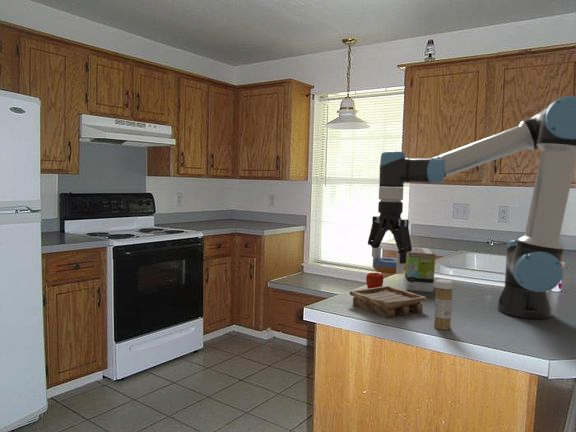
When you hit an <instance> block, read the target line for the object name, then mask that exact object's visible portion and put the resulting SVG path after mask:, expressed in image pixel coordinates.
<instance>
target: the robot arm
mask: <svg viewBox="0 0 576 432" xmlns="http://www.w3.org/2000/svg"><path fill="white" fill-rule="evenodd" d="M537 149H539V151H540V157H539V161H538V166H537V172H536V177H535V181H534V187H533V191H532V196H531V201H530V205H529V206H530V207H529V211H528V217H527V221H526V225H525V226H526V227H525V231H524V235H522V236H520V237H519V238H517V239H510V240H509V241H507V244H506V247H505V251H506V259H505V273H504V286H503V289H502V291H501V294H500V295H499V298H498V301H497V307H496V309H497V311H499V312H501V313H503V314H505V315H508V316H512V317H518V318H522V319H528V320H529V319H532V320H545V319H548V318H551V317H552V306H551V303H550V299H549V296H548V291H549V292H550V291H551V290H553V289H554V288H556V287H557V286H558V285H559V284H560V282H561V281H562V278H563V275H564V269H563V264H562V263H561V262H562V259H563V254H564V248H565V247H564V246H563V244H562V243H561V242H560V236H561V232H562V227H563V222H564V218H565V212H566V210H567V209H566V208H567V205H568V204H567V203H568V199H569V194H570V189H571V184H572V181H573V179H572V178H573V175H574V172H575V171H574V169H575V166H576V95H567V96H563V97H560V98H557V99H555V100H554V101H552V102H551V103H550V104H549V105H548V106H547V107H545V108H544V109H543V110H541V111H540V112H539V113H537V114H535V115H534V116H533V115H532V116H531V117H529V118H526V119H524V120H521V121H520V123H519V124H518V125H517V126H514V127H512V128H511V127H510V128H509V129H505V130H504V131H501V132H498V133H495V134H493V135H490V136H488V137H484V138H482V139H480V140H479V139H478V140H477V141H474V142H471V143H469V144H466V145H464V146H461V147H458V148H456V149H452V150H450V151H447V152H444V153H441V154H439V155H437V156H433V157H428V158H427V157H425V158H424V157H422V158H421V157H419V158H417V157H415V158H410V157H409V158H408V157H406V154H405V152H404V151H397V150H396V151H393V150H392V151H383V152H382V153H381V155H380V162H379V163H380V164H379V180H378V182H379V185H378V186H379V187H378V200H380V201H379V202H378V209H377V211H378V213H379V215H378V216H376V215H375V216H374V215H373V216H372V217H371V219H372V222H371V223H372V224H371V228H370V232H369V236H368V240H367V245H369V246H371V248H372V249H371V250H372V251H371V256H372V262H373V261H374V260H375V259H377V258H382V253H381V252H382V247H381V243H382V241H383V240H384V237H385V235H386V233H387V232H388V231H390V233H391V234H392V235H393V239H394V242H395V244H396V247H397V250H398V251H397V252H396V258H397V260H396V273H395V274H396V275H403V274H405V268H404V267H405V264H406V253H407V252H411V251H412V248H413V247H412V242H411V235H410V229H409V223H410V221H409V219H408V218H407V219H403V218H402V217H401V215H402V214H403V212H404V211H403V208H404V205H403V204H404V203H403V200H404V187H405V186H404V183H416V184H417V183H419V184H420V183H421V184H422V183H423V184H440V183H444V182H445V178H446V177H449V176H452V175H455V174H458V173H461V172H464V171H467V170H470V169H472V168H475V167H478V166H481V165H483V164H487V163H490V162H492V161H495V160H498V159H501V158H504V157H507V156H509V155H512V154H516V153H518V152H520V151H524V150H530V151H534V150H537Z"/></svg>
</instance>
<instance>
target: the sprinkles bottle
mask: <svg viewBox="0 0 576 432" xmlns="http://www.w3.org/2000/svg"><path fill="white" fill-rule="evenodd" d="M434 285H435V286H434V287H435V298H434V299H435V300H434V323H433V327H435V329H438V330H443V331H447V330H450V329H451V327H452V326H451V323H452V320H451V319H452V304H453V298H452V297H453V296H452V295H453V293H452V292H453V289H454V287H453V286H454V282H453V280H449V279H442V278H440V279H436V280H435V283H434Z"/></svg>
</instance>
